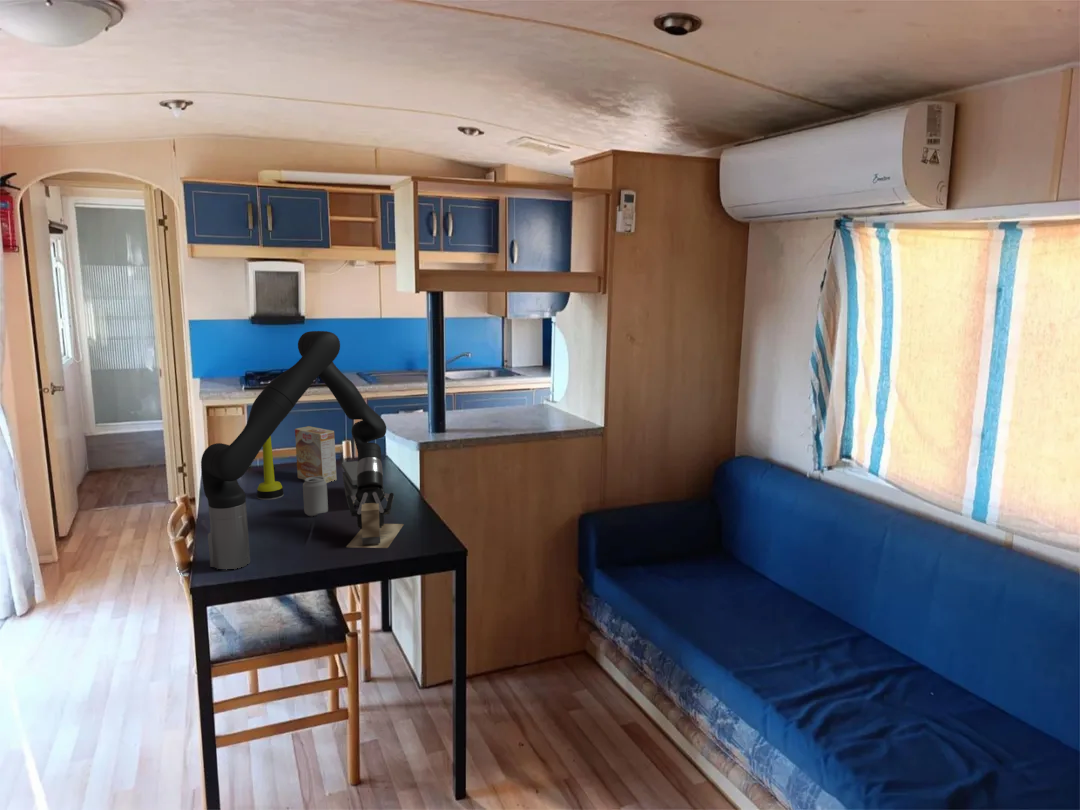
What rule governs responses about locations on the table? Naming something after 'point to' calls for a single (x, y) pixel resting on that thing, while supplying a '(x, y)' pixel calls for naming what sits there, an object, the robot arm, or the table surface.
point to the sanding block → (370, 523)
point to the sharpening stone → (350, 479)
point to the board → (386, 537)
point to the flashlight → (269, 476)
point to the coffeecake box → (315, 453)
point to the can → (315, 496)
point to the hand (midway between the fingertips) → (370, 527)
